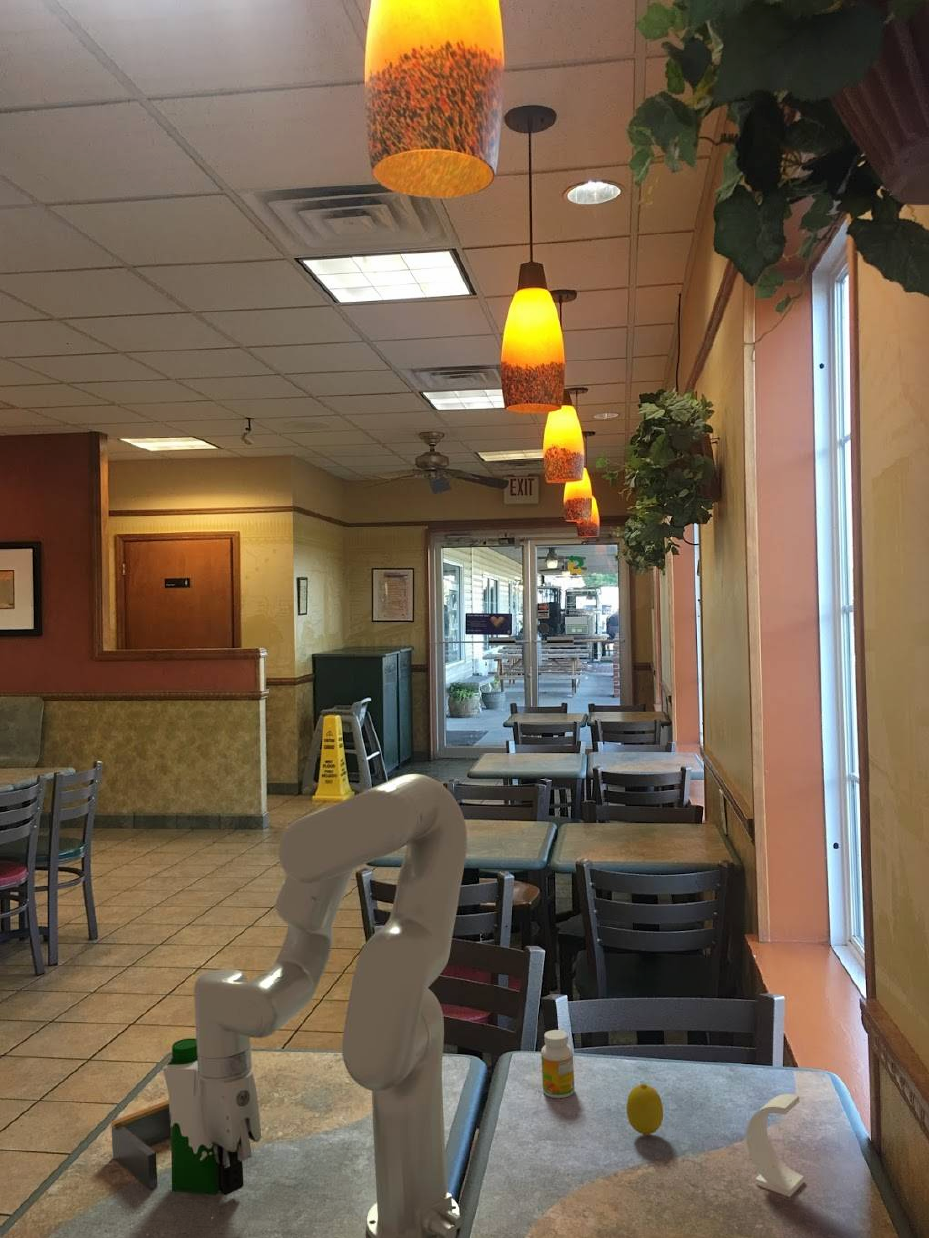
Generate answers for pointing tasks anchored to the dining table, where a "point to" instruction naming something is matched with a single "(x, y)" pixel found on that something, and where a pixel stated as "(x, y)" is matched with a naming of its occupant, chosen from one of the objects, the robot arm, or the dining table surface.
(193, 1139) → the soya milk
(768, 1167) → the headphone stand
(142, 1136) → the bracket
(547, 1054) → the supplement bottle
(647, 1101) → the lemon
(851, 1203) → the dining table surface
